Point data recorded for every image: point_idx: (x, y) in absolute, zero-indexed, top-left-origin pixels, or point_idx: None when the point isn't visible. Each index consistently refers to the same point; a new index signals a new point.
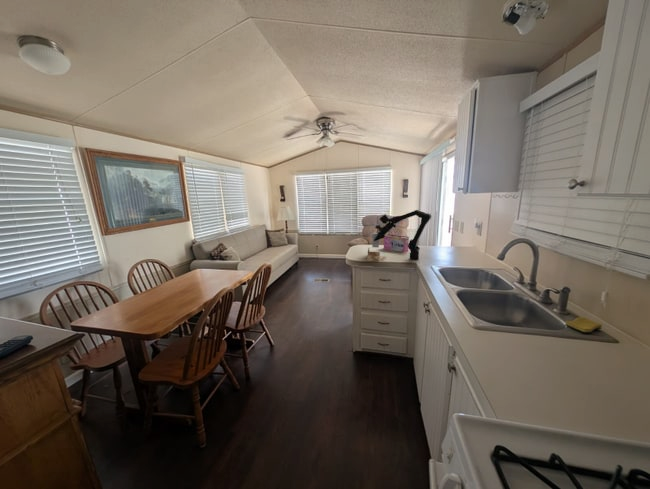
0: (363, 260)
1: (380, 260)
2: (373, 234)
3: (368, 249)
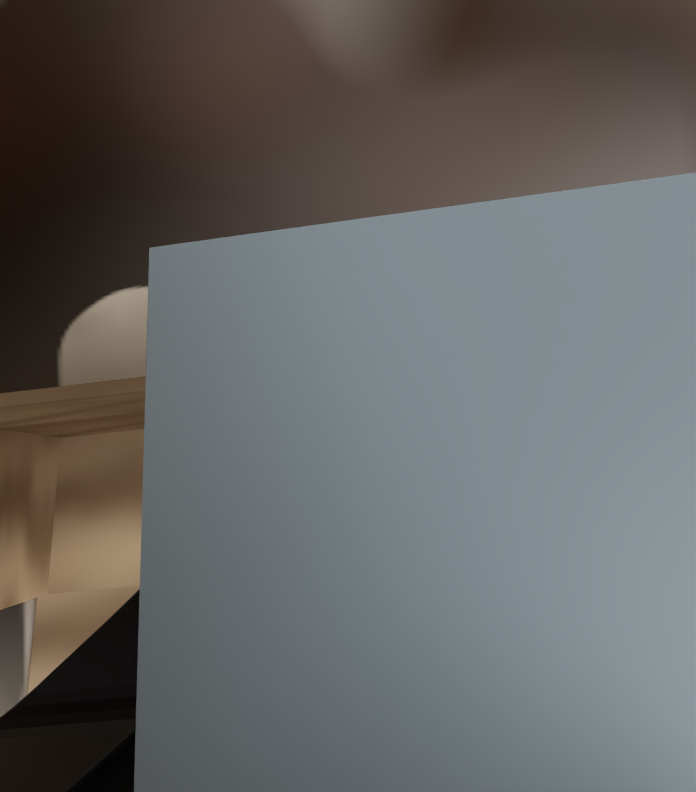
0: (80, 377)
1: (55, 609)
2: (173, 344)
3: (66, 390)
